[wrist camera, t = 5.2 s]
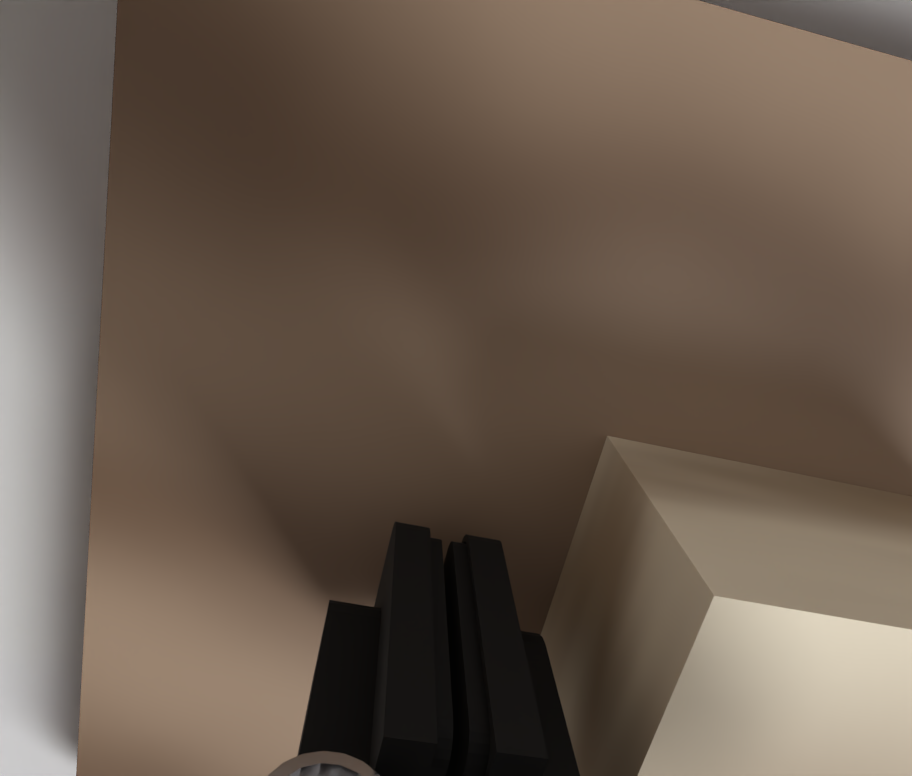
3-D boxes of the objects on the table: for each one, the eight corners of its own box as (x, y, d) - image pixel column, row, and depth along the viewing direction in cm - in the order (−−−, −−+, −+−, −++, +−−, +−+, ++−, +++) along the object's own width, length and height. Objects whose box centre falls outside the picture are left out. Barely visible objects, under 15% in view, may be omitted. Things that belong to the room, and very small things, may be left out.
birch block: (607, 435, 10) (714, 594, 7) (942, 502, 11) (1209, 680, 7) (510, 725, 12) (550, 978, 9) (802, 766, 13) (958, 1014, 9)
